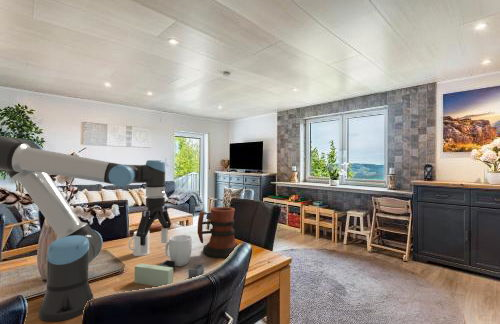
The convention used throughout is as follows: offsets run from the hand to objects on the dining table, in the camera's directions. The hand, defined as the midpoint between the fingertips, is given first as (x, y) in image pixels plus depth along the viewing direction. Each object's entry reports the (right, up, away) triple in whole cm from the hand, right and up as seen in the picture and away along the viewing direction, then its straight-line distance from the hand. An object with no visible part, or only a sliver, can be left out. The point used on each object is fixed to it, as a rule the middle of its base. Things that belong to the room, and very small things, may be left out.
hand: (154, 247), depth 109 cm
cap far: (+1, -15, +12) cm, 19 cm away
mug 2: (+4, -15, +22) cm, 27 cm away
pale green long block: (0, -15, 0) cm, 15 cm away
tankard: (+22, -16, +40) cm, 48 cm away
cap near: (+16, -15, +8) cm, 23 cm away
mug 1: (-21, -15, +34) cm, 43 cm away
